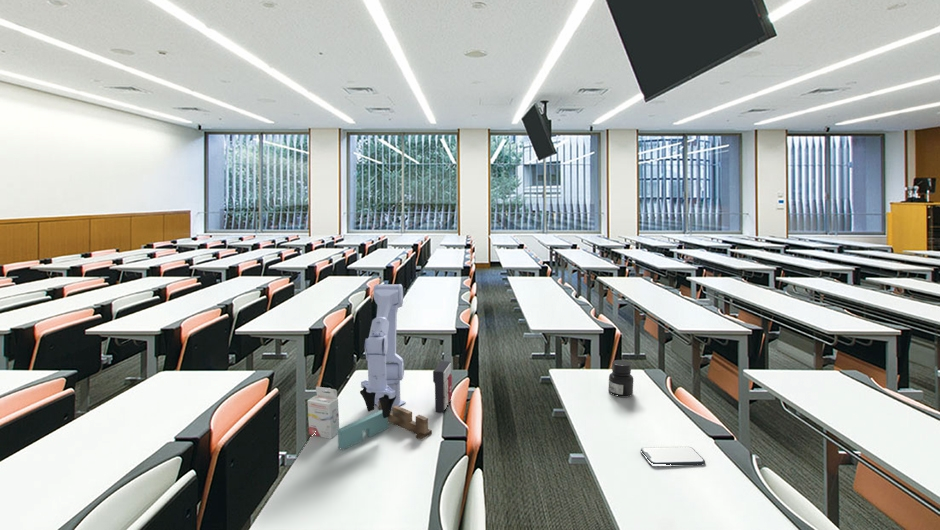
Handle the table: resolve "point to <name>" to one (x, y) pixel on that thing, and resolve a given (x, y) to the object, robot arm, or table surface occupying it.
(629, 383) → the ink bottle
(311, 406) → the ink cartridge box
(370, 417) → the teal plate
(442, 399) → the dark grey box
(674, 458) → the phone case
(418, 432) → the walnut stand
